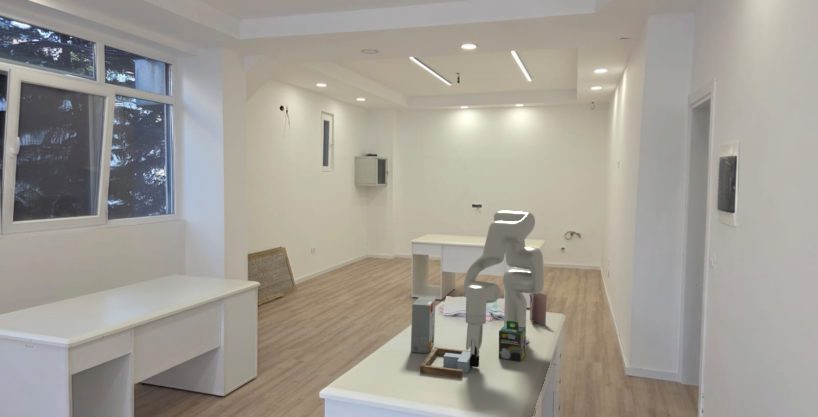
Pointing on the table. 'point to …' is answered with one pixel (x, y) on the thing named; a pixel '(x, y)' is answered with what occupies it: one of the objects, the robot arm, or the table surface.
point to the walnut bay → (442, 371)
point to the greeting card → (538, 308)
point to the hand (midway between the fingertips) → (474, 366)
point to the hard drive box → (423, 325)
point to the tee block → (458, 361)
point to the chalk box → (512, 342)
